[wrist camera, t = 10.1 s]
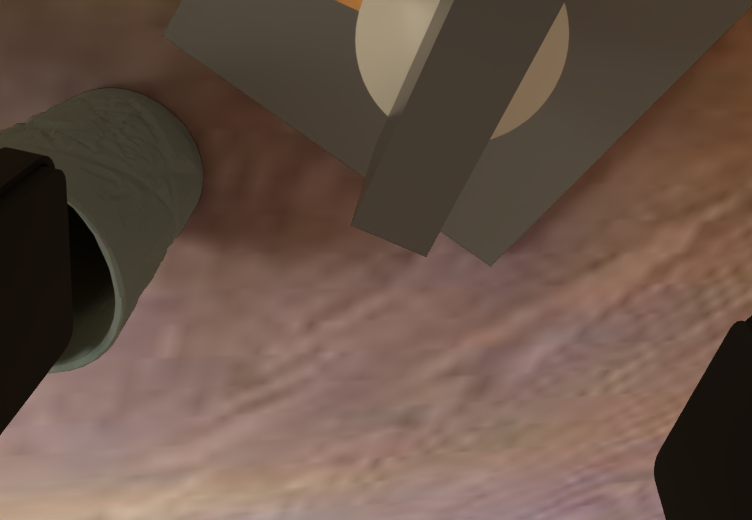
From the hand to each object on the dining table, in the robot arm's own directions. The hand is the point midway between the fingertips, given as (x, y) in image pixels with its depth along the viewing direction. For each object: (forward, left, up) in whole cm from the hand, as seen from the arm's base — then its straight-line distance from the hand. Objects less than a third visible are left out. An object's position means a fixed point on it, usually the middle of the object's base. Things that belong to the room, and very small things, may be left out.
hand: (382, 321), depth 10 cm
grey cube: (0, 0, -19) cm, 19 cm away
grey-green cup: (-18, +8, -27) cm, 33 cm away
